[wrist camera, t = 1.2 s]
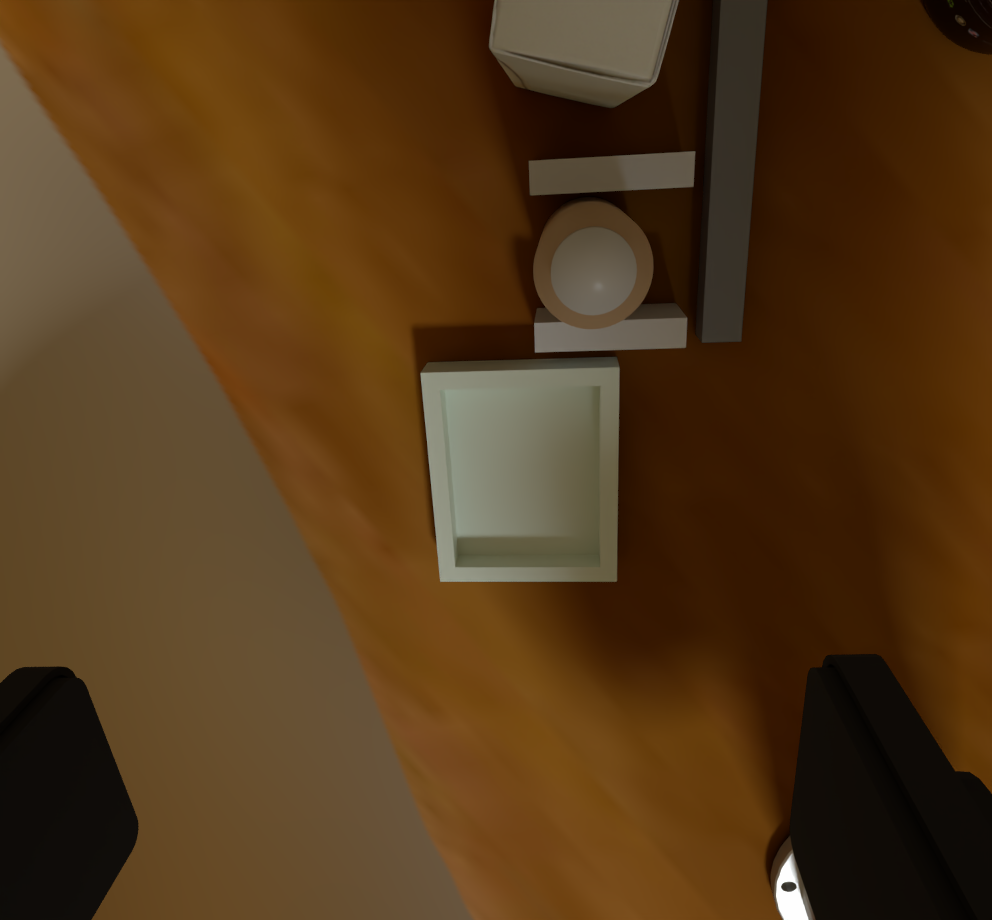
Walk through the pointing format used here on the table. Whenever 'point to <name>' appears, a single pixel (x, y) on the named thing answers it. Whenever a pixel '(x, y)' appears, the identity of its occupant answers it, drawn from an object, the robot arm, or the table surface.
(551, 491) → the tray
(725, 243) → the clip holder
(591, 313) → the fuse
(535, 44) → the skincare box
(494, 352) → the table surface
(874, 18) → the table surface
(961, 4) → the supplement bottle
